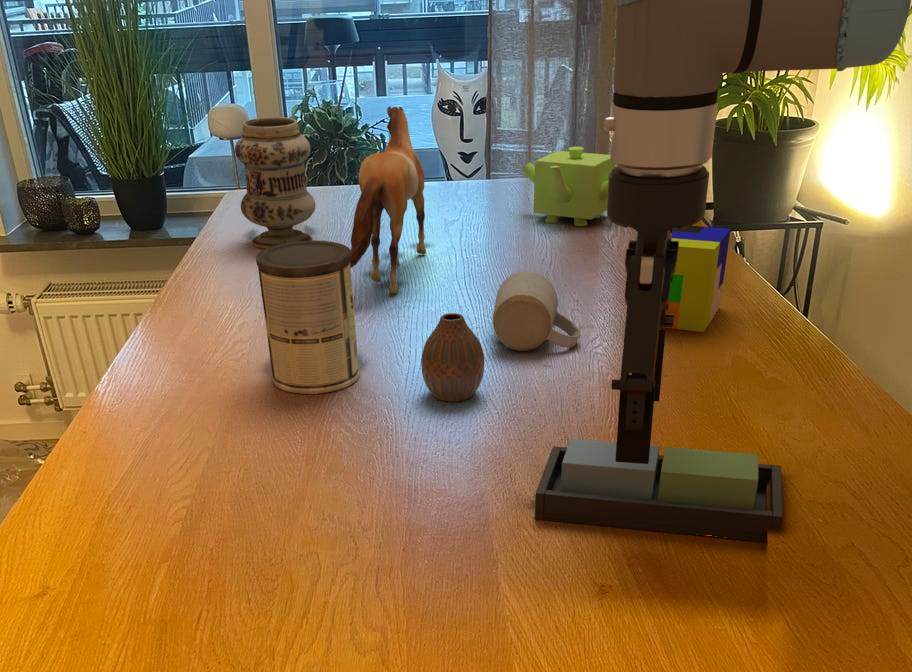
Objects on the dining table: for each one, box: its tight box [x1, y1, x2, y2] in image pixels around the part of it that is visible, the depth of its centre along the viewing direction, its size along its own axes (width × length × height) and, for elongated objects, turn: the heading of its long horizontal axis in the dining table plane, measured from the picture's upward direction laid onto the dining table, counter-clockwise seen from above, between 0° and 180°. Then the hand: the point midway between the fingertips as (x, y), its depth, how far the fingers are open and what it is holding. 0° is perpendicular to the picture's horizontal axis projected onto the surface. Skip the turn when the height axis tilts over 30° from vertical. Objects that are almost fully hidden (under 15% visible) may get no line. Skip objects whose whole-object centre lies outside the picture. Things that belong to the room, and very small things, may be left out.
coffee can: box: [255, 240, 361, 395], centre depth 113 cm, size 10×10×14 cm
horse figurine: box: [350, 106, 427, 295], centre depth 143 cm, size 31×8×21 cm, turn 167°
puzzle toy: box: [625, 225, 731, 333], centre depth 128 cm, size 10×10×10 cm
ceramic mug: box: [492, 270, 581, 352], centre depth 122 cm, size 11×8×8 cm
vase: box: [420, 312, 485, 403], centre depth 109 cm, size 7×7×9 cm
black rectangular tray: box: [534, 446, 784, 543], centre depth 89 cm, size 21×10×3 cm, turn 75°
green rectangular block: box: [658, 446, 759, 510], centre depth 88 cm, size 8×5×4 cm, turn 75°
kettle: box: [521, 146, 618, 227], centre depth 169 cm, size 15×14×11 cm
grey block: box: [561, 438, 660, 500], centre depth 89 cm, size 8×5×4 cm, turn 75°
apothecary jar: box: [234, 116, 317, 250], centre depth 160 cm, size 12×12×18 cm
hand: (638, 428), depth 89 cm, fingers open, 12 cm apart
